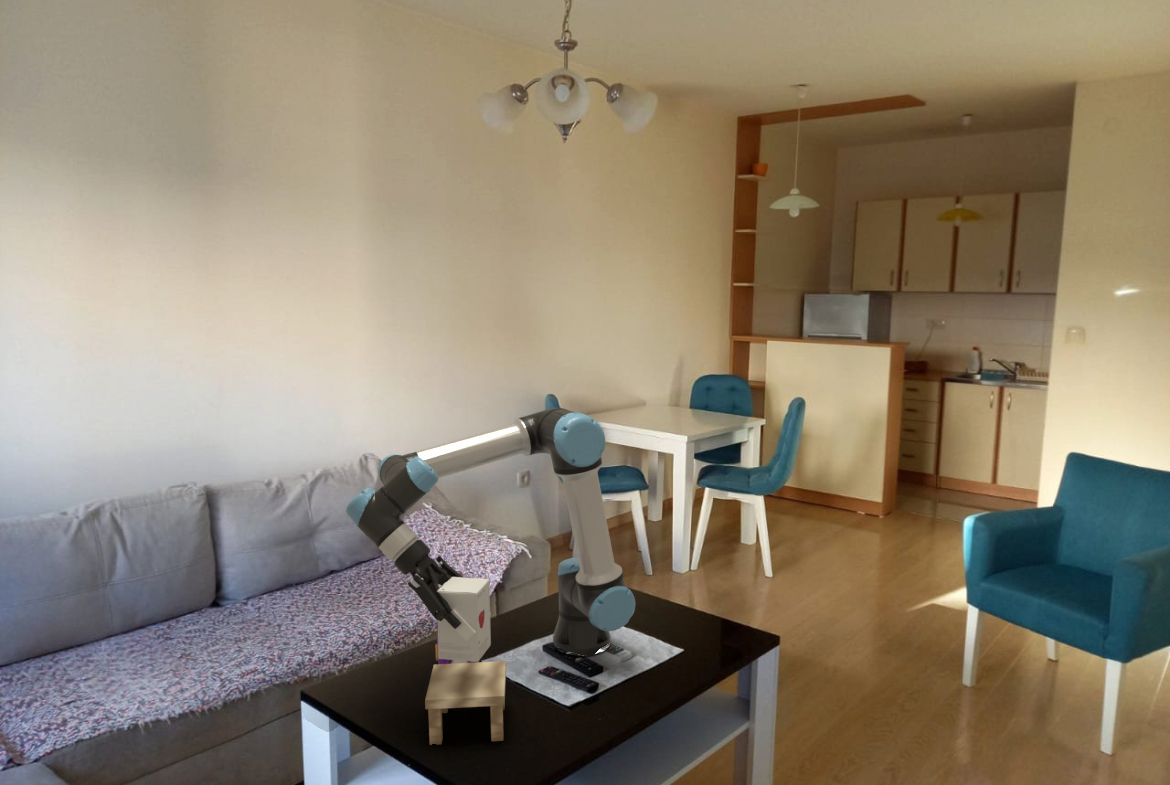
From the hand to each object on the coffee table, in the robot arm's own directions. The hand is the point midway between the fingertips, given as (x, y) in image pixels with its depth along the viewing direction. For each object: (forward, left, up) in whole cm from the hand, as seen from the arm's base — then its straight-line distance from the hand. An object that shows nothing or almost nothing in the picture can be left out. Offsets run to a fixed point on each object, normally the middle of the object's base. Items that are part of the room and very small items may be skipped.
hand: (479, 626), depth 170 cm
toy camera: (+7, -25, -22) cm, 34 cm away
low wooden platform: (+3, -1, -22) cm, 22 cm away
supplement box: (+3, -1, -6) cm, 7 cm away
